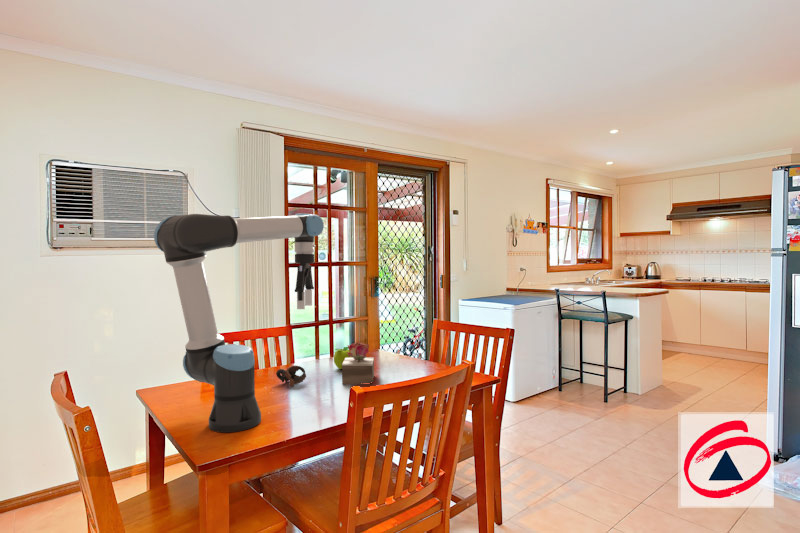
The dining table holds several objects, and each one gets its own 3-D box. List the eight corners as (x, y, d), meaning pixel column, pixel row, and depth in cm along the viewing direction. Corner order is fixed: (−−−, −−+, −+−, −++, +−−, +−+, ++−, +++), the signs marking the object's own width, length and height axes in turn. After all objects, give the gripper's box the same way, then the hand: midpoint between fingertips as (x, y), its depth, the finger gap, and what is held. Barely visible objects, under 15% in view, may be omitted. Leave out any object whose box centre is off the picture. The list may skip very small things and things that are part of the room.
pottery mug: (305, 380, 187) (309, 365, 184) (301, 397, 179) (304, 382, 175) (277, 374, 186) (279, 359, 182) (270, 390, 178) (273, 375, 174)
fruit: (329, 369, 203) (329, 347, 203) (344, 365, 210) (344, 344, 210) (343, 373, 197) (343, 350, 197) (358, 368, 204) (358, 346, 204)
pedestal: (372, 384, 180) (372, 364, 179) (342, 384, 180) (342, 364, 179) (374, 376, 192) (373, 357, 191) (345, 376, 192) (345, 357, 191)
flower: (373, 359, 180) (372, 341, 185) (351, 356, 177) (351, 338, 181) (364, 368, 187) (364, 350, 192) (343, 366, 184) (343, 348, 188)
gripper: (307, 252, 166) (307, 310, 166) (320, 253, 191) (320, 304, 191) (286, 253, 166) (287, 310, 166) (302, 253, 191) (302, 304, 191)
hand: (304, 307), depth 179 cm, fingers open, 13 cm apart
